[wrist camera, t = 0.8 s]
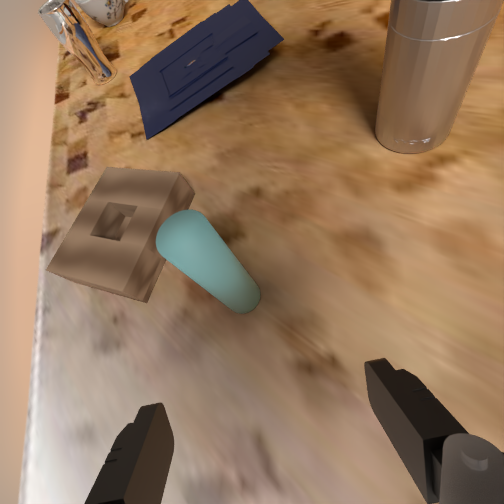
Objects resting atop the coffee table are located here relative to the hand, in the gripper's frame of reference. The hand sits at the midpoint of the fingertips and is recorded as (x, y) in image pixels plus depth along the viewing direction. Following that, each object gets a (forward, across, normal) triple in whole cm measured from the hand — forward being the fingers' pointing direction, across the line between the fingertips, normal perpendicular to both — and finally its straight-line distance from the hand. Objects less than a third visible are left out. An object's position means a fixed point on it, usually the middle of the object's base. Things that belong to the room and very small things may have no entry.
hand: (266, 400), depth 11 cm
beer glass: (+69, +26, -39) cm, 83 cm away
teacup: (+87, +24, -59) cm, 108 cm away
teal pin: (+24, +2, +5) cm, 25 cm away
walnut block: (+35, +17, -4) cm, 39 cm away
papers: (+58, +2, -31) cm, 65 cm away
